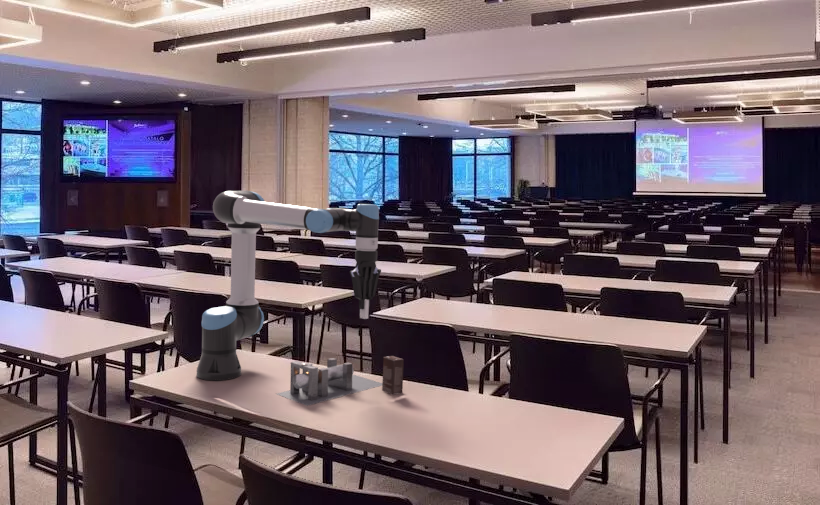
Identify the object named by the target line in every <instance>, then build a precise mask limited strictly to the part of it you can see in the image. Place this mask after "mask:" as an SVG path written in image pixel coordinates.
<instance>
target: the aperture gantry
mask: <svg viewBox="0 0 820 505" xmlns="http://www.w3.org/2000/svg"><path fill="white" fill-rule="evenodd" d="M303 369H304V370H307V371H309V381H308V400H310V401H313V400H317V395H318V369H319V367H317V366H314V365H312V366H311V365H308V364H307V362H300V361H298V360H294V361H291V362H290V387H289V388H290V393H291V394H297V393H299V389H297V388H295V386H294V384H293V377H294V376H295V375H298V374H301V372H300V371H301V370H303Z"/></svg>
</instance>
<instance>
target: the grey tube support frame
mask: <svg viewBox="0 0 820 505" xmlns="http://www.w3.org/2000/svg"><path fill="white" fill-rule="evenodd" d="M326 366H327V367H326V368H329V367H333V366H338V359H337V358H334V357H331V358H327V363H326ZM352 366H353V363H352V362H345V363H343V378H341V379H337V380H333V381H329V382H328V385H329V386H332V387H336V388H339V389H342V390H345V391H349V390H352Z"/></svg>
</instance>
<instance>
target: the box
mask: <svg viewBox="0 0 820 505" xmlns="http://www.w3.org/2000/svg"><path fill="white" fill-rule="evenodd" d="M382 365H383V366H382V382H381V383H382V386H381V391H383V392H385V393H388V394H389V395H398V394H399V395H400V394H403V387H404V359H403V358H400V357H397V356H394V355H388V356H383V364H382Z"/></svg>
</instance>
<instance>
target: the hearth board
mask: <svg viewBox="0 0 820 505" xmlns="http://www.w3.org/2000/svg"><path fill="white" fill-rule="evenodd" d="M378 387H382V382H380V381H376V380H373V379H369V378H366V377H363V376H359V375H356V374H353V375H352V390H349V391H345V390H342V389H339V388H336V387H332V386H329V385H328V396H327V397H323V398H321V397H318V396H317V400H313V401H310V400H308V393H307V392H304V391H302V388H300V389H299V393H297V394H291V393H290V390H286V391H281V392H277V393H276V395H277V396H280V397H283V398H286V399H287V400H288V399H289V400H290V401H293V402H296V403H299V404H302V405H304V406H307V407H308V406H311V405H316V404H319V403H323V402H327V401H330V400H333V399H338V398H341V397H345V396H349V395H352V394H355V393H360V392H364V391H367V390H370V389H374V388H378Z"/></svg>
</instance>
